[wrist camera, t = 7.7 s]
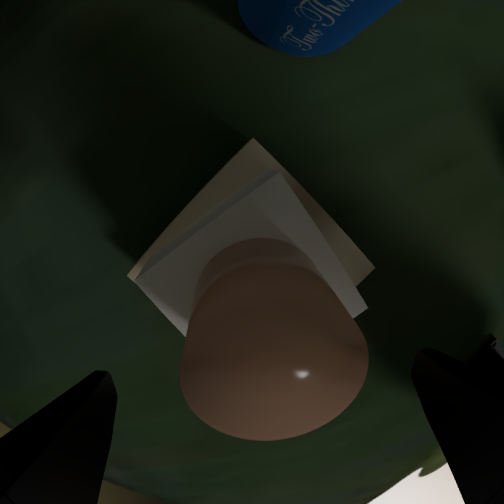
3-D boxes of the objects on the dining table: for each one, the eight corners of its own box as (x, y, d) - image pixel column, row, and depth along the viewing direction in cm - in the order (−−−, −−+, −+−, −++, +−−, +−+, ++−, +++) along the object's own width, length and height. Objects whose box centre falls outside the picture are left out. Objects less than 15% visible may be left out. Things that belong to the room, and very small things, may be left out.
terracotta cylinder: (347, 294, 13) (399, 365, 8) (260, 371, 14) (274, 457, 9) (258, 209, 12) (280, 252, 7) (168, 303, 13) (142, 385, 8)
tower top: (346, 281, 16) (368, 307, 13) (237, 353, 17) (239, 389, 14) (269, 167, 14) (279, 171, 11) (150, 256, 15) (134, 280, 12)
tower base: (355, 250, 19) (375, 267, 16) (251, 346, 21) (254, 374, 18) (249, 139, 17) (253, 137, 14) (141, 256, 18) (126, 275, 15)
